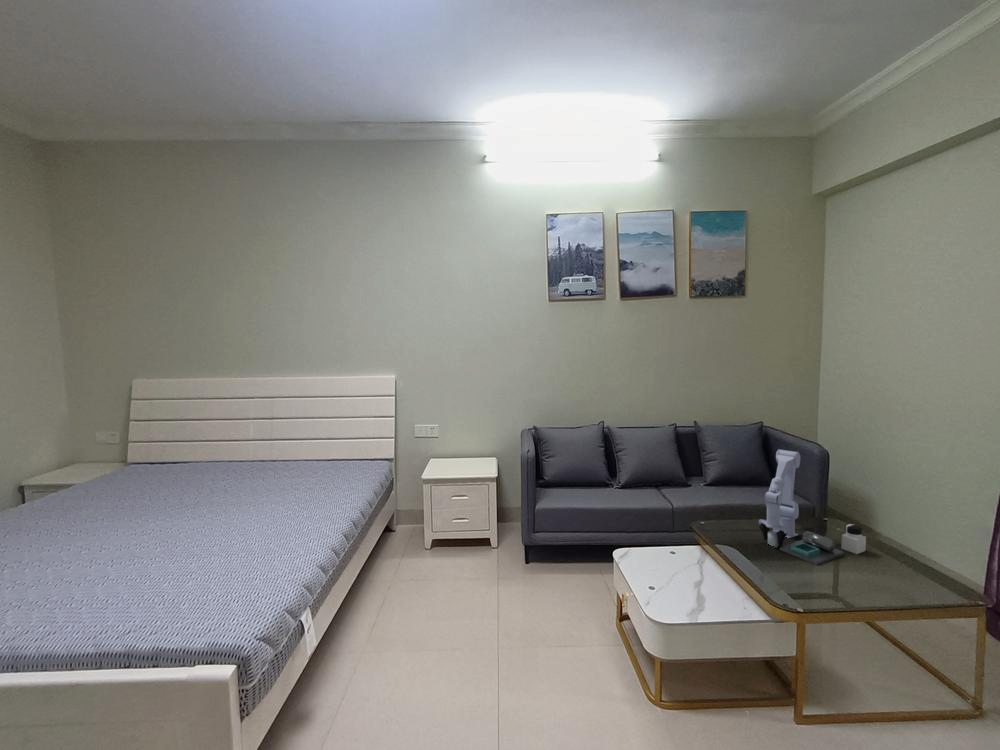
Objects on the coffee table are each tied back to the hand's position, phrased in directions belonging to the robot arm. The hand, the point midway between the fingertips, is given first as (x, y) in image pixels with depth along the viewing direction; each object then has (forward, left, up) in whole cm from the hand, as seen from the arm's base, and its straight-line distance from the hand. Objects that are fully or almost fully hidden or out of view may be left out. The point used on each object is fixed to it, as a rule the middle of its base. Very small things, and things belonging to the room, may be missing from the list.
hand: (773, 542), depth 247 cm
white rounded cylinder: (0, 0, -2) cm, 2 cm away
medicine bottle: (+22, +27, -2) cm, 35 cm away
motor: (+14, +8, -2) cm, 16 cm away
